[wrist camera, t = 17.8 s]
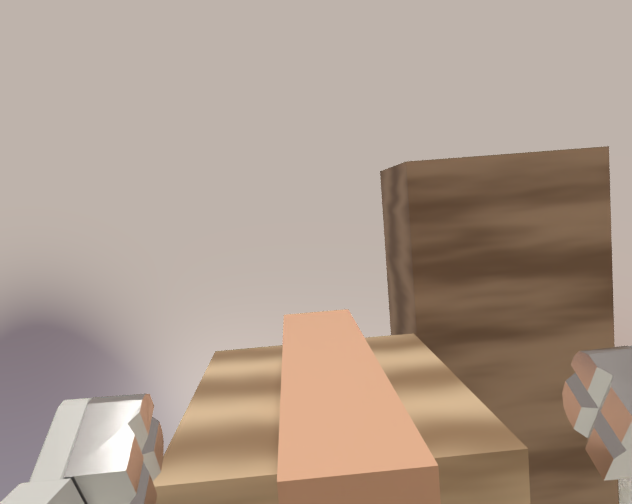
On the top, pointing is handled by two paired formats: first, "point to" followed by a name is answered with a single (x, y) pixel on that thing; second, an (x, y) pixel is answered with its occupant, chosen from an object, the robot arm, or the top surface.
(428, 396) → the brown wooden stepped block
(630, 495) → the top surface
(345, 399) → the long slim case
